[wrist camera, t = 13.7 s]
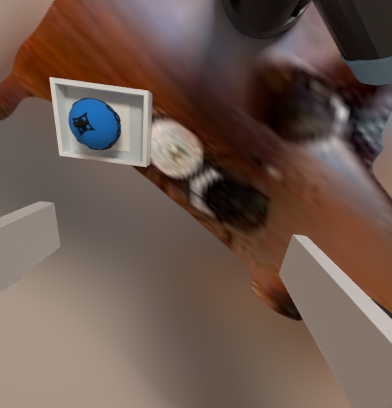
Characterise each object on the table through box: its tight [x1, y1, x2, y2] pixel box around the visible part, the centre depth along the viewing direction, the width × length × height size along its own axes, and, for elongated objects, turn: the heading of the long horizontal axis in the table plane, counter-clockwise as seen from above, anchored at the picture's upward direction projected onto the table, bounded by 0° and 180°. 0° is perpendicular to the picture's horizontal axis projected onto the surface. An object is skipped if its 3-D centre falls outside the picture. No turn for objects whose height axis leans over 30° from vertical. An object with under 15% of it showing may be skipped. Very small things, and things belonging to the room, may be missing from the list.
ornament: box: [68, 98, 121, 150], centre depth 33 cm, size 9×9×10 cm
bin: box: [50, 77, 153, 167], centre depth 37 cm, size 14×18×3 cm
